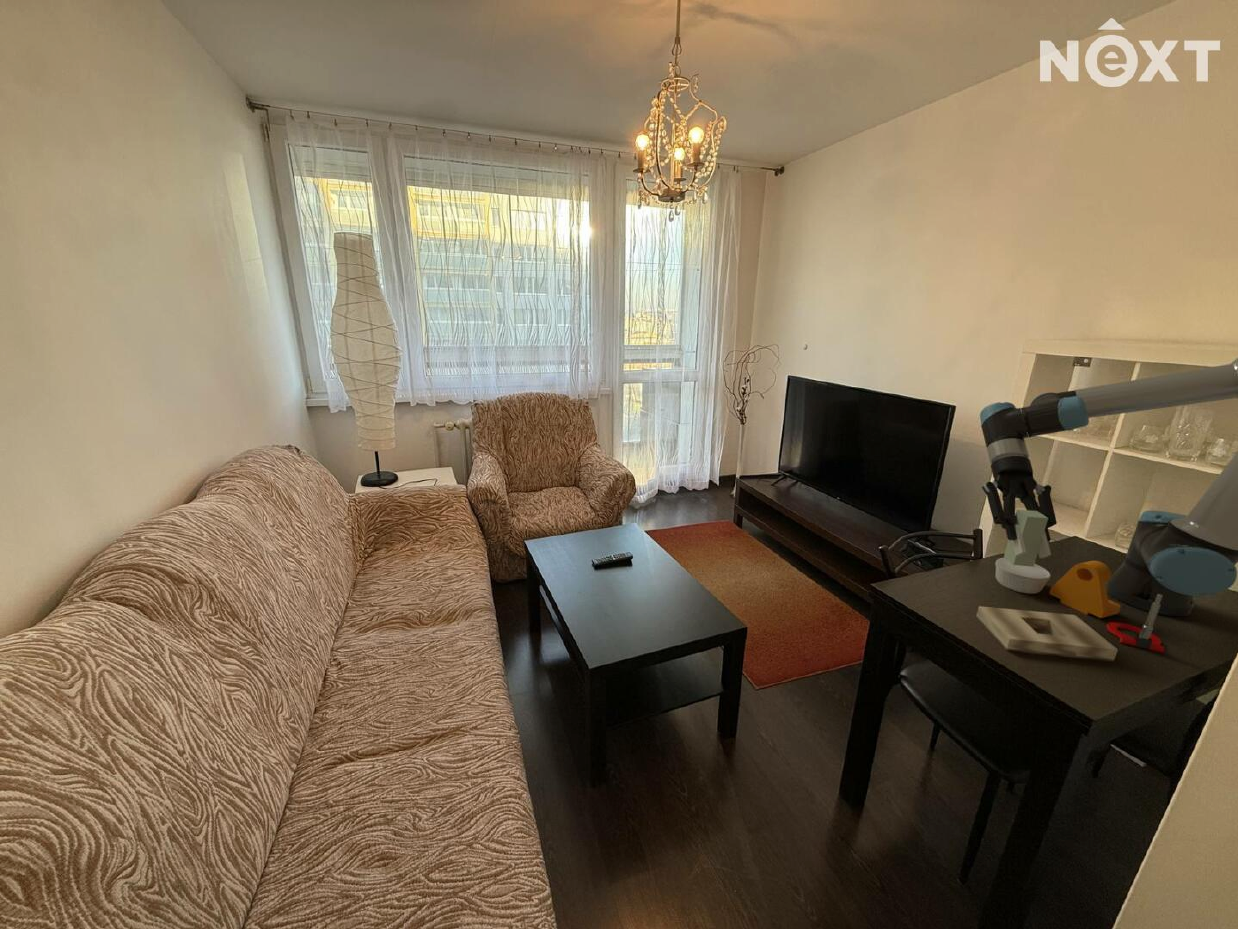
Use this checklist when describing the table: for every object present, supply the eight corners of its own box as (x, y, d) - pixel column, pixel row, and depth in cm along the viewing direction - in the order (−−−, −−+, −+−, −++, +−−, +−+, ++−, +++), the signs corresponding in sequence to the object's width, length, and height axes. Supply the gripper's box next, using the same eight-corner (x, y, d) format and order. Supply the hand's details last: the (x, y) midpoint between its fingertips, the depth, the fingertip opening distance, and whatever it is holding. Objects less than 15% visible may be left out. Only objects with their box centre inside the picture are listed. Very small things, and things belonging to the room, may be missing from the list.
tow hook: (1100, 622, 113) (1115, 643, 105) (1117, 572, 110) (1134, 590, 102) (1149, 633, 109) (1169, 656, 101) (1168, 582, 106) (1190, 602, 98)
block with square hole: (1071, 626, 111) (1075, 615, 110) (1113, 661, 99) (1118, 649, 98) (975, 617, 114) (978, 606, 113) (1006, 650, 102) (1009, 638, 101)
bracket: (1119, 615, 115) (1136, 571, 111) (1099, 621, 113) (1116, 576, 109) (1067, 592, 125) (1081, 550, 121) (1048, 596, 122) (1061, 554, 119)
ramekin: (1051, 588, 126) (1057, 570, 125) (1036, 601, 120) (1042, 583, 119) (1001, 570, 135) (1005, 553, 134) (984, 581, 129) (989, 564, 128)
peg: (1023, 558, 112) (1036, 510, 108) (1033, 566, 108) (1048, 518, 105) (1003, 556, 113) (1016, 509, 109) (1013, 565, 109) (1027, 516, 105)
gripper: (1040, 470, 118) (1066, 563, 108) (962, 466, 121) (980, 556, 111) (1060, 456, 111) (1090, 553, 101) (978, 452, 114) (998, 546, 104)
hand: (1032, 555), depth 106 cm, fingers closed on peg, 4 cm apart
